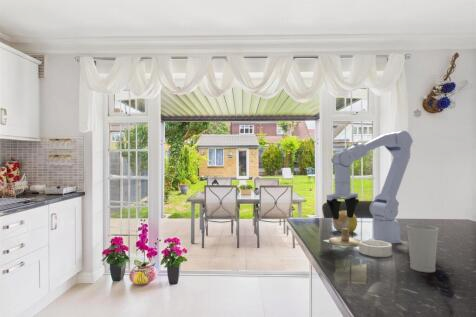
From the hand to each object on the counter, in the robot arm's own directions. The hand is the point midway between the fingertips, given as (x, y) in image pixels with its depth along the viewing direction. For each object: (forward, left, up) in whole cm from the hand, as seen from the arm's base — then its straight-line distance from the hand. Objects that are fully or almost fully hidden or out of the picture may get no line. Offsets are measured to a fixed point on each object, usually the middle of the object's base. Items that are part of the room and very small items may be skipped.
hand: (342, 218), depth 120 cm
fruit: (-14, -16, -10) cm, 24 cm away
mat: (-1, 0, -10) cm, 10 cm away
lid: (-1, 0, -9) cm, 9 cm away
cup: (-2, +32, -10) cm, 33 cm away
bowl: (-1, +15, -10) cm, 18 cm away
